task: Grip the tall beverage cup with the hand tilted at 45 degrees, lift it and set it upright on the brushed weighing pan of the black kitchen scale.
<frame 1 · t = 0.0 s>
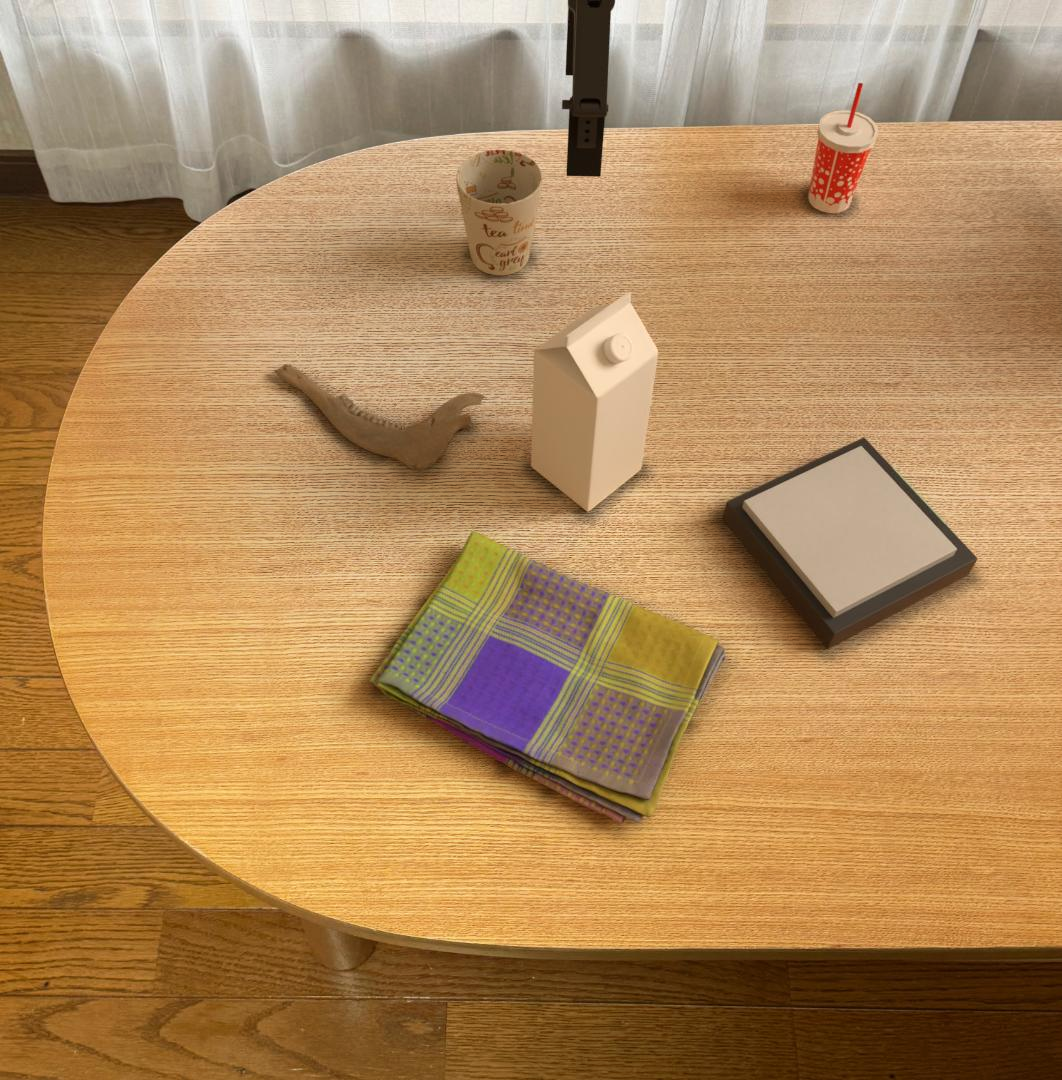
hand: (582, 121, 97), 23 cm above the table, tool pointing down, fingers open, 13 cm apart
dish towel: (552, 676, 93), on the table
kitchen scale: (843, 546, 101), on the table
milk carton: (586, 470, 105), on the table
beverage cup: (828, 200, 127), on the table
jawbone: (382, 400, 110), on the table
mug: (505, 244, 123), on the table
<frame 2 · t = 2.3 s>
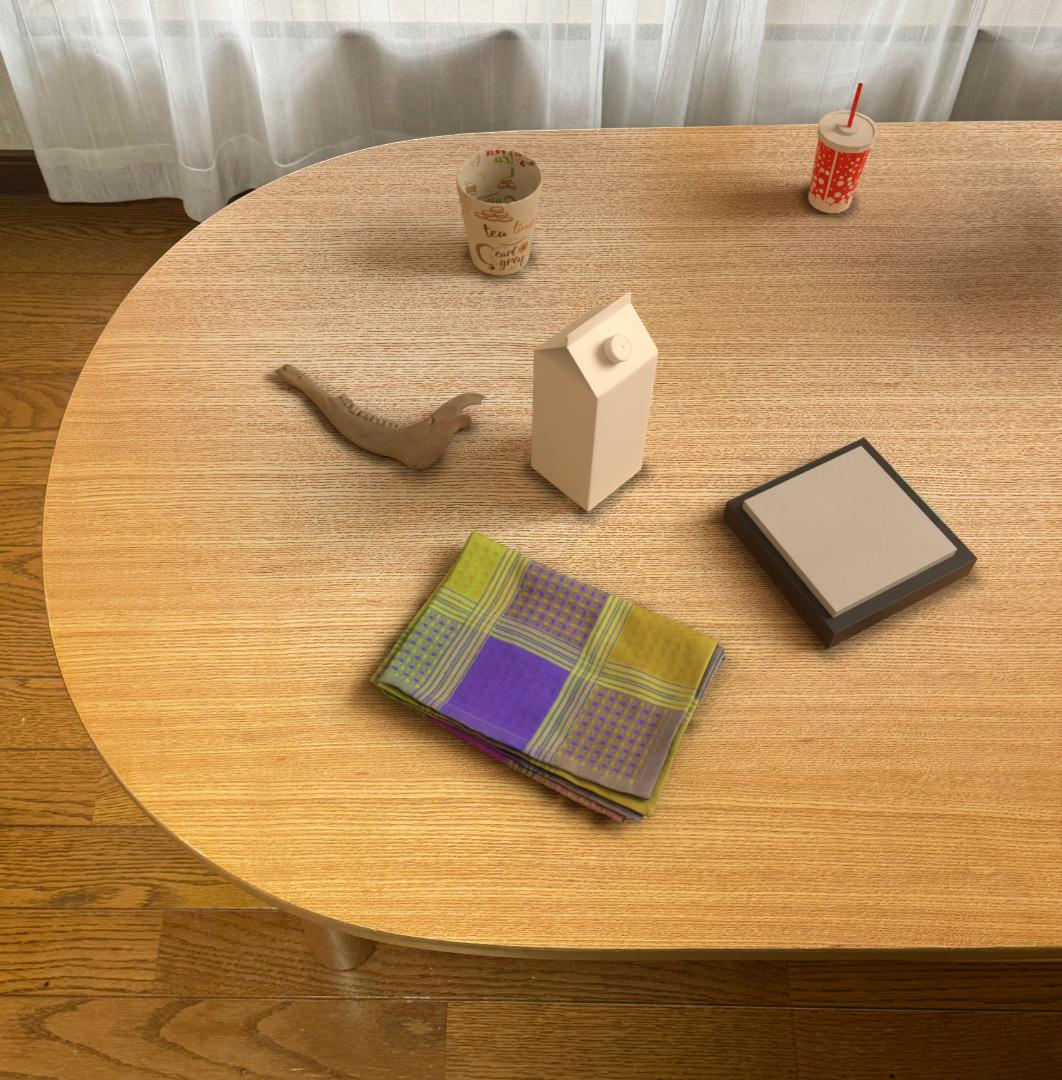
nothing on the table moved.
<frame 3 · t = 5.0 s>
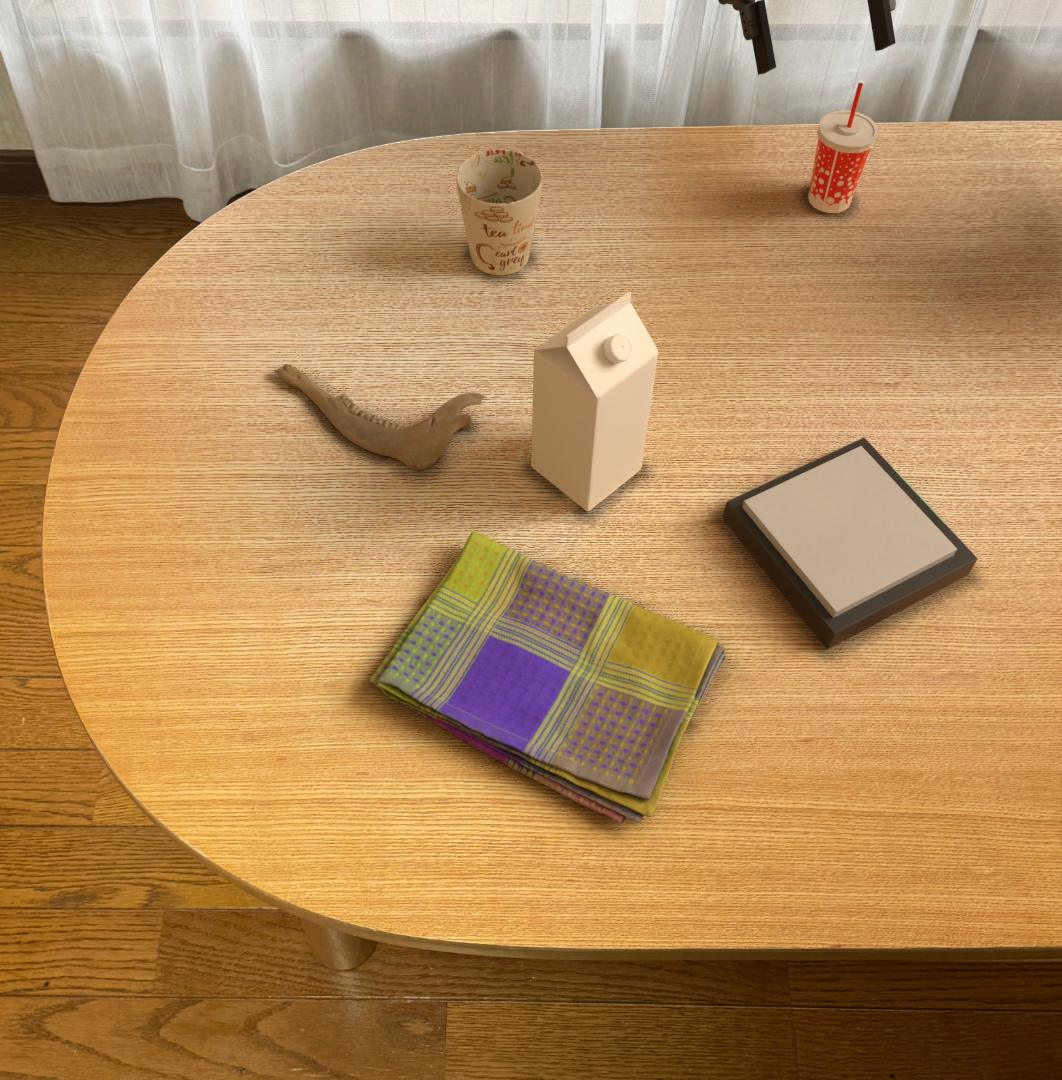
hand: (827, 59, 120), 13 cm above the table, tool tilted 45°, fingers open, 13 cm apart
nothing on the table moved.
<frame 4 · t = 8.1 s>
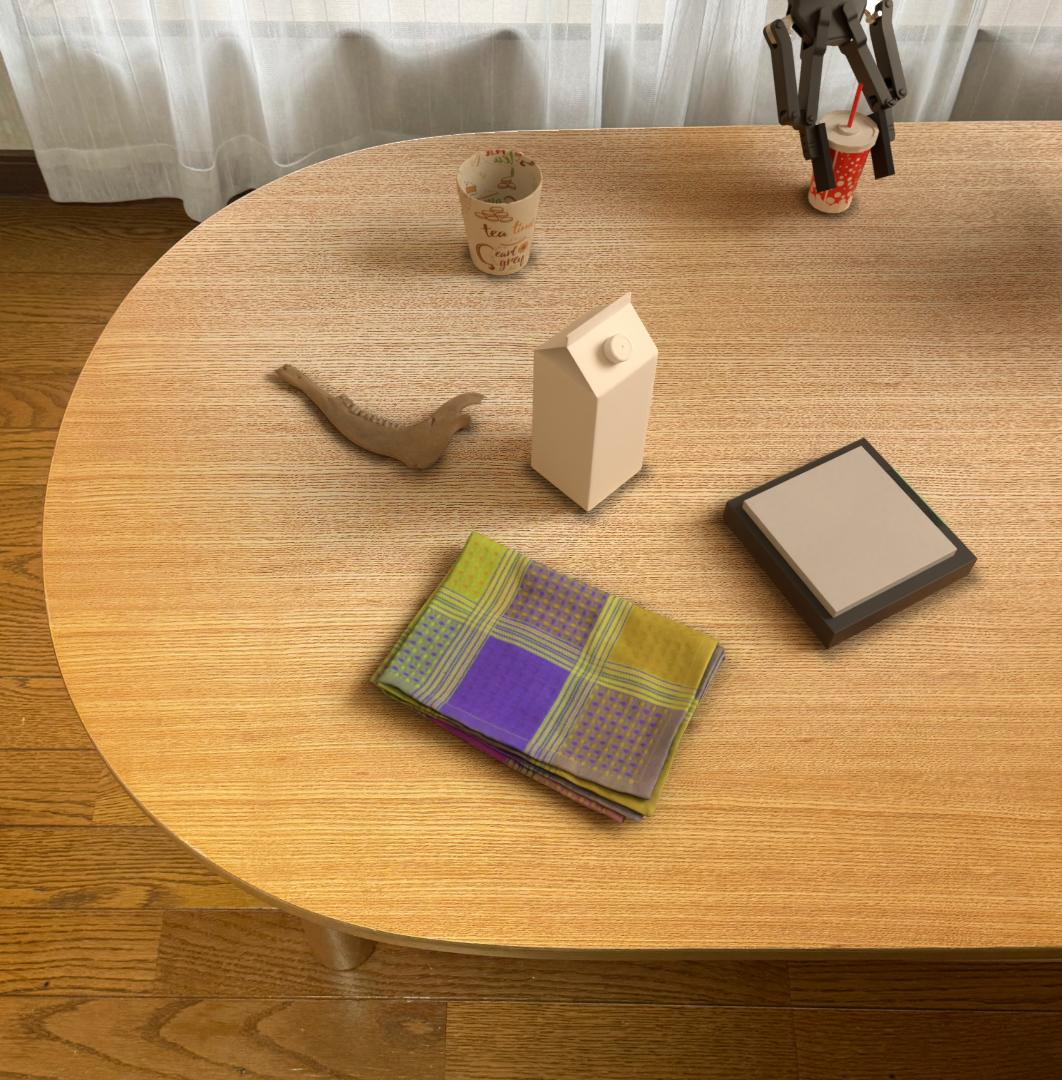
hand: (855, 183, 121), 5 cm above the table, tool tilted 45°, fingers closed on beverage cup, 6 cm apart
beverage cup: (828, 200, 127), on the table, touching gripper
everything else where it was.
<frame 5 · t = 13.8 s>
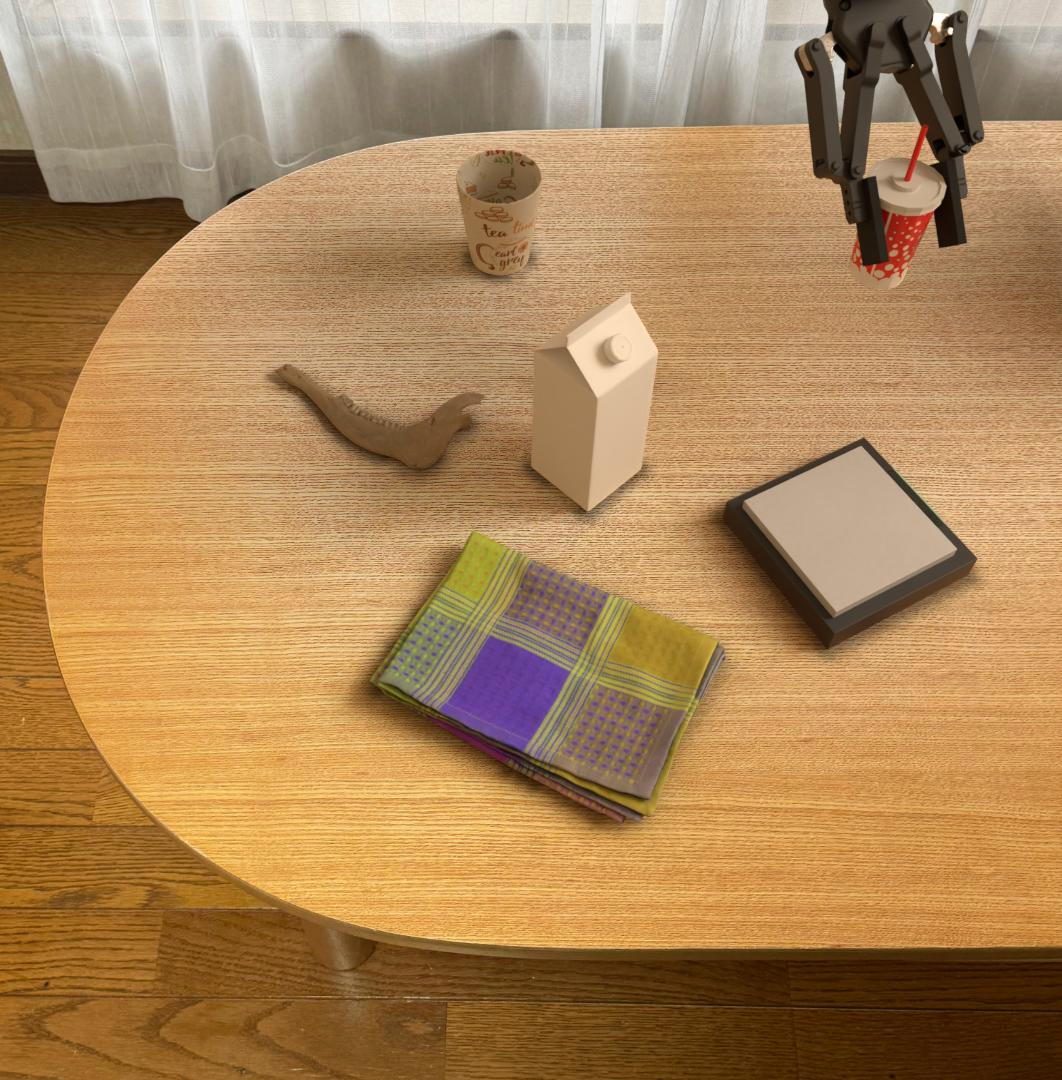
hand: (914, 254, 92), 20 cm above the table, tool tilted 45°, fingers closed on beverage cup, 6 cm apart
beverage cup: (876, 272, 98), point 15 cm above the table, touching gripper
everything else where it was.
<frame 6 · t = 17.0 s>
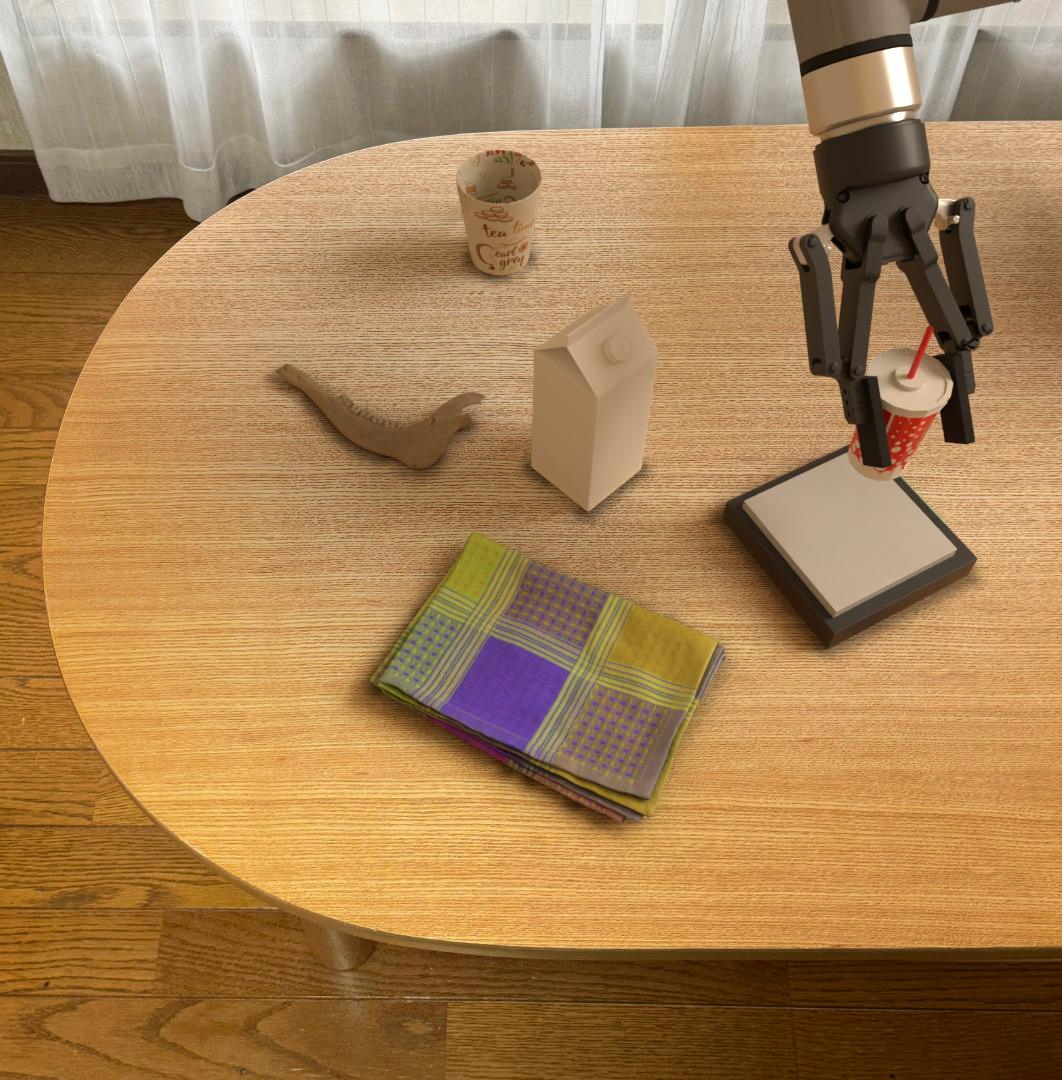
hand: (918, 453, 85), 17 cm above the table, tool tilted 45°, fingers closed on beverage cup, 6 cm apart
beverage cup: (876, 459, 91), point 12 cm above the table, touching gripper
everything else where it was.
when the fingers open (8 cm above the table, at t = 19.6 s): beverage cup stays where it is, resting on kitchen scale.
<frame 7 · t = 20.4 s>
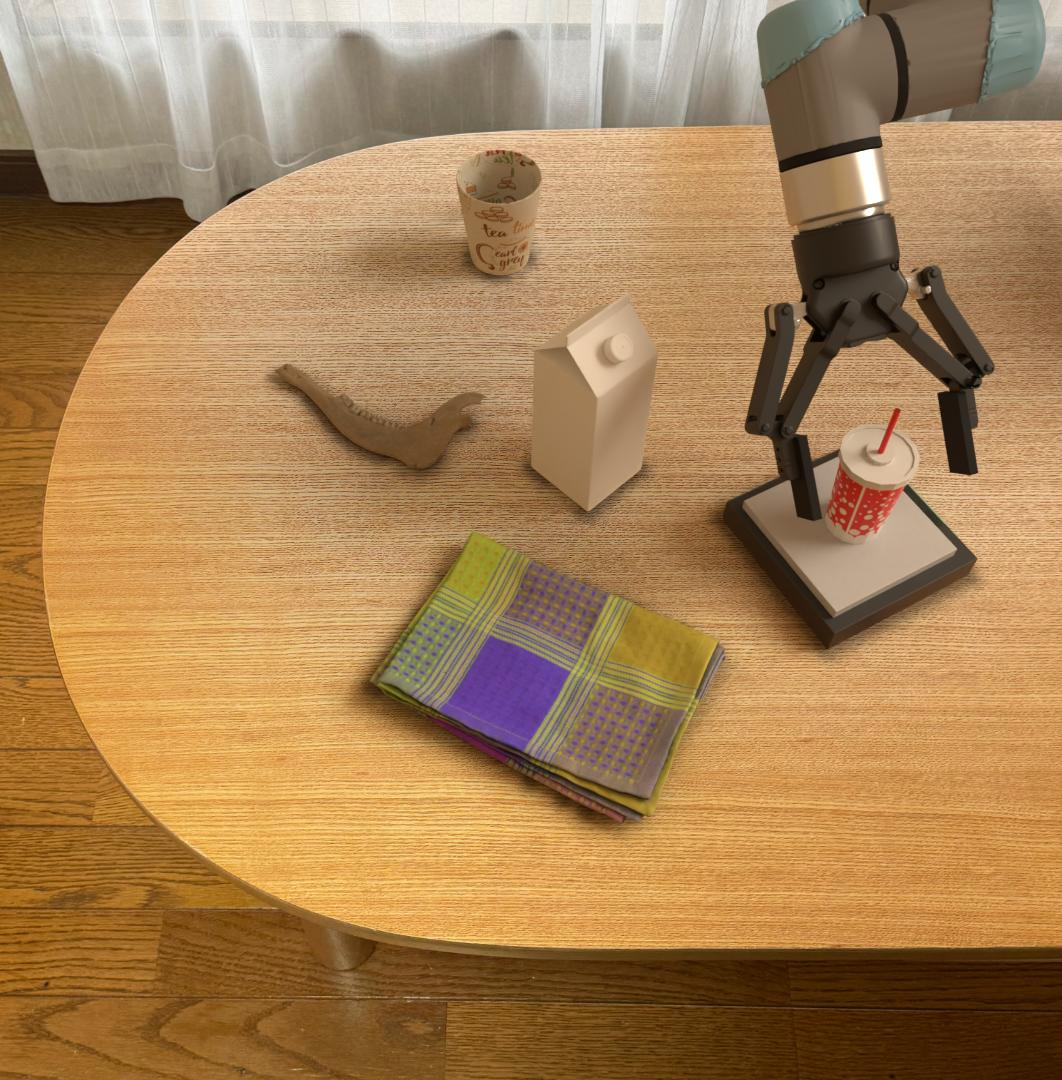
hand: (888, 495, 91), 10 cm above the table, tool tilted 45°, fingers open, 13 cm apart
beverage cup: (851, 523, 98), point 3 cm above the table, touching kitchen scale
everything else where it was.
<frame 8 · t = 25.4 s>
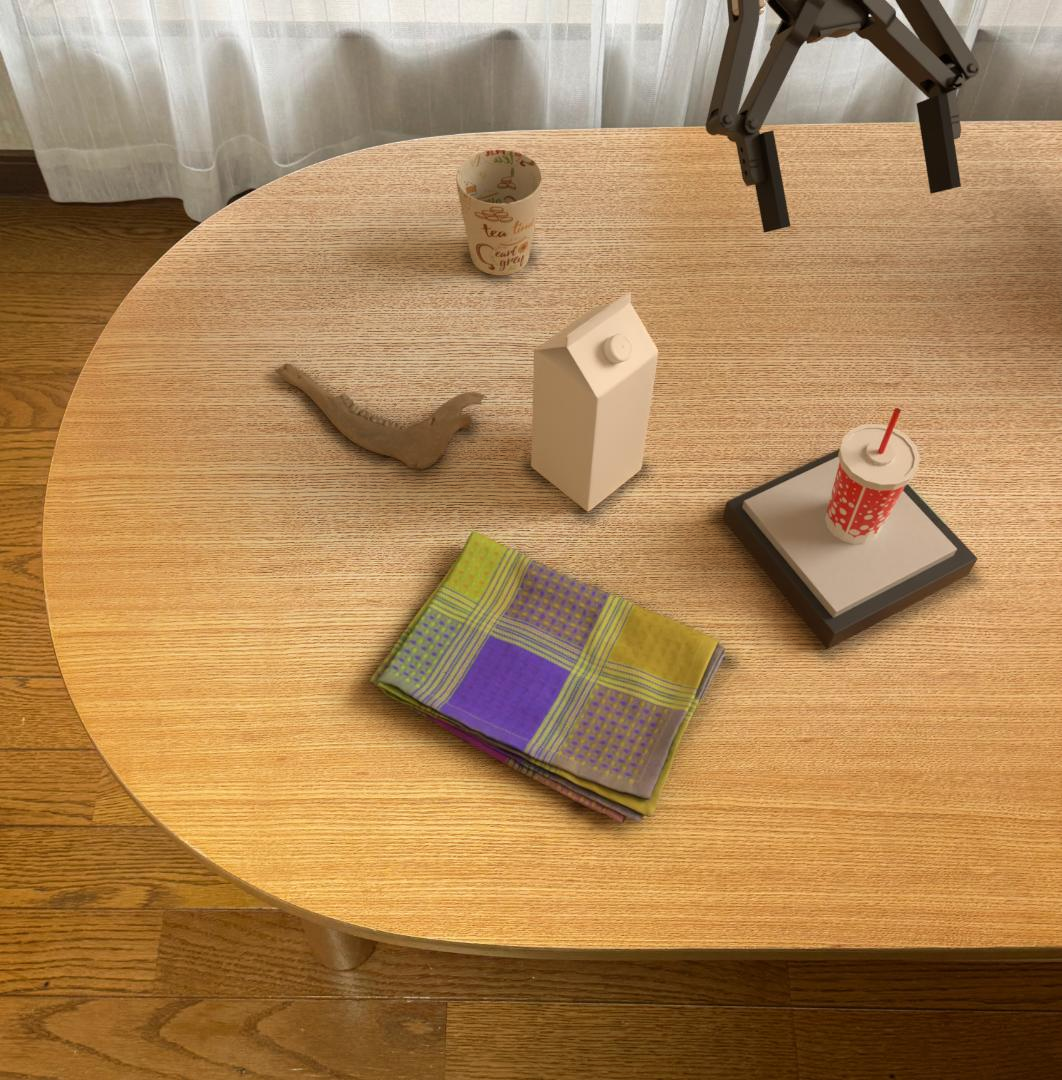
hand: (862, 210, 84), 28 cm above the table, tool tilted 45°, fingers open, 13 cm apart
nothing on the table moved.
at the end: beverage cup inside the target area on the kitchen scale (0.1 cm from its centre), point 3.3 cm above the kitchen scale's base; beverage cup tilted 0°; the gripper is holding nothing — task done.
